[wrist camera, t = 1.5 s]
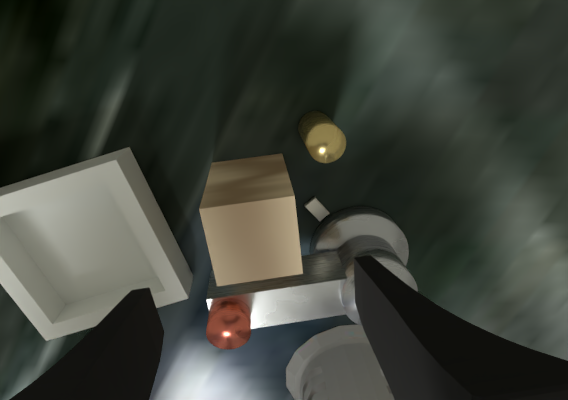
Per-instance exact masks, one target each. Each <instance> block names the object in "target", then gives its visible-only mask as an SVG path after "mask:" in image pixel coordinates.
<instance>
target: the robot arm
mask: <svg viewBox="0 0 568 400" xmlns="http://www.w3.org/2000/svg"><path fill="white" fill-rule="evenodd" d="M354 283H355V304H356V307H357V311H358V314H359V317H360V320H361V323H362V327H363V329H364V332H365V334H366V336H367V338H368V341H369V343H370V345H371V347H372V350H373V352H374V354H375V356H376V358H377V360H378V363H379V365H380V367H381V369H382V371H383V374H384V376H385V378H386V380H387V382H388V385H389V387H390V389H391V392H392V394H393V397H394V399H395V400H568V361H566V360H563V359H560V358H557V357H554V356H551V355H548V354H544V353H541V352H538V351H535V350H532V349H530V348H527V347H524V346H522V345H519V344H516V343H514V342H511V341H509V340H506V339H504V338H501V337H499V336H497V335H494V334H492V333H490V332H488V331H486V330H483V329H481V328H479V327H477V326H475V325H473V324H471V323H469V322H467V321H465V320H463V319H461V318H459V317H457V316H456V315H454V314H452V313H450V312H448V311H447V310H445V309H443V308H441V307H440V306H438V305H436V304H435V303H433V302H432V301H430V300H429V299H427V298H426V297H424V296H423V295H421V294H420V293H418V292H417V291H415V290H414V289H413V288H411V287H410V286H409V285H407V284H406V283H405V282H403V281H402V280H401V279H399V278H398V277H397V276H396V275H394V274H393V273H392V272H391V271H389V270H388V269H387V268H386V267H384V266H383V265H382V264H381V263H380V262H378V261H377V260H376V259H375V258H373V257H372V256H371V255H368V256H362V257H355V258H354ZM163 337H164V330H163V327H162V324H161V321H160V318H159V315H158V312H157V309H156V306H155V303H154V300H153V297H152V294H151V291H150V288H142V289H135V290H131V291H130V292H129V293H128V294H127V295H126V296H125V297H124V298H123V299H122V300H121V301H120V302H119V303H118V304H117V305H116V306H115V307H114V308H113V309H112V310H111V311H110V312H109V313H108V314H107V315H106V316H105V317H104V319H103V320H102V321H101V322H100V323H99V324H98V325H97V326H96V327H95V328H94V329H93V330H92V331H91V332H90V333H89V334H88V335H87V336H85V337H84V338H83V339H82V340H81V341H80V342H79V343H78V344H77V345H76V346H75V347H74V348H73V349H72V350H70V351H69V352H68V353H67V354H66V355H65V356H64V357H63V358H62V359H61V360H59V361H58V362H57V363H56V364H55V365H54V366H52V367H51V368H50V369H49V370H48V371H46V372H45V373H44V374H43V375H41V376H40V377H39V378H38V379H37V380H35V381H34V382H33V383H31V384H30V385H29V386H28V387H26V388H25V389H23V390H22V391H21V392H19V393H18V394H16V395H15V396H14V397H12V398H11V399H10V400H149V397H150V393H151V390H152V387H153V383H154V380H155V376H156V373H157V369H158V365H159V362H160V357H161V351H162V344H163Z"/></svg>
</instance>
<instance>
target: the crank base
mask: <svg viewBox="0 0 568 400" xmlns="http://www.w3.org/2000/svg"><path fill="white" fill-rule="evenodd" d="M298 130H299V134H300V136H301V138H302V140H303V141H304V143H305V145H306V147H307V149H308V151H309V153H310V155H311V156H312V157H313V158H314V159H315V160H316V161H318V162H321V163H330V162H333V161H335V160H337V159H338V158H340V157H341V155H342V154H343V153H344V151H345V148H346V138H345V135H344V134H343V132H342V131H341V130H340V129H339V128H338V127H337V126H336V125H335V124H334V123H333V122H332V121H331V120H330V119H329V118H328V117H327V116H326V115H325V114H324V113H322V112H320V111H311V112H308V113H306V114H305V115H304V116H303V117H302V118H301V120H300V122H299V126H298ZM304 205H305V207H306V208H307V209H308V210H309V211H310V212H311V213H312V214H313V215H314V216H315V217H316V218H317V219H318V220H319V221H321V220H322V219H323V218H325V217H326V216H327V215H328V214H330V213H329V211H328V210H327V209H326V208H325V207H324V206H323V205H322V204H321V202H320V201H319V200H318V199H317V198H316V197H315V196H314V197H313V198H312V199H310V200H309V201H308V202H307V203H306V204H304ZM362 235H374V236H378V237H381V238H383V239H385V240H386V241H387V242H389V243H390V245H391V246H392V247H393V249H394V250H395V252H396V253H397V255H398V256H399V258H400V259H401V261H402V262H403V264H404V265H405V266H406V264H407V261H408V256H409V247H408V242H407V239H406V237H405V235H404V234H403V232H402V231H401V230H400V228H399V227H398V226H397V224H396V223H395V222H394V221H393V220H392V218H391V217H390V216H388V215H387V214H386V213H384V212H383V211H381V210H378V209H376V208H372V207H366V206H357V207H350V208H346V209H343V210H340V211H338V212H336V213H334V214H332V215H331V216H329V217H328V218H327V219H326V220H324V221H323V222H322V223H321V224H320V226H319V227H318V228H317V230H316V231H315V233H314V235H313V237H312V240H311V243H310V251H309V252H310V255H311V254H318V253H325V252H332V251H336V250H337V249H338V248H339V247H340V246H341V245H342V244H343V243H345V242H346V241H348V240H350V239H352V238H354V237H357V236H362Z"/></svg>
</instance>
